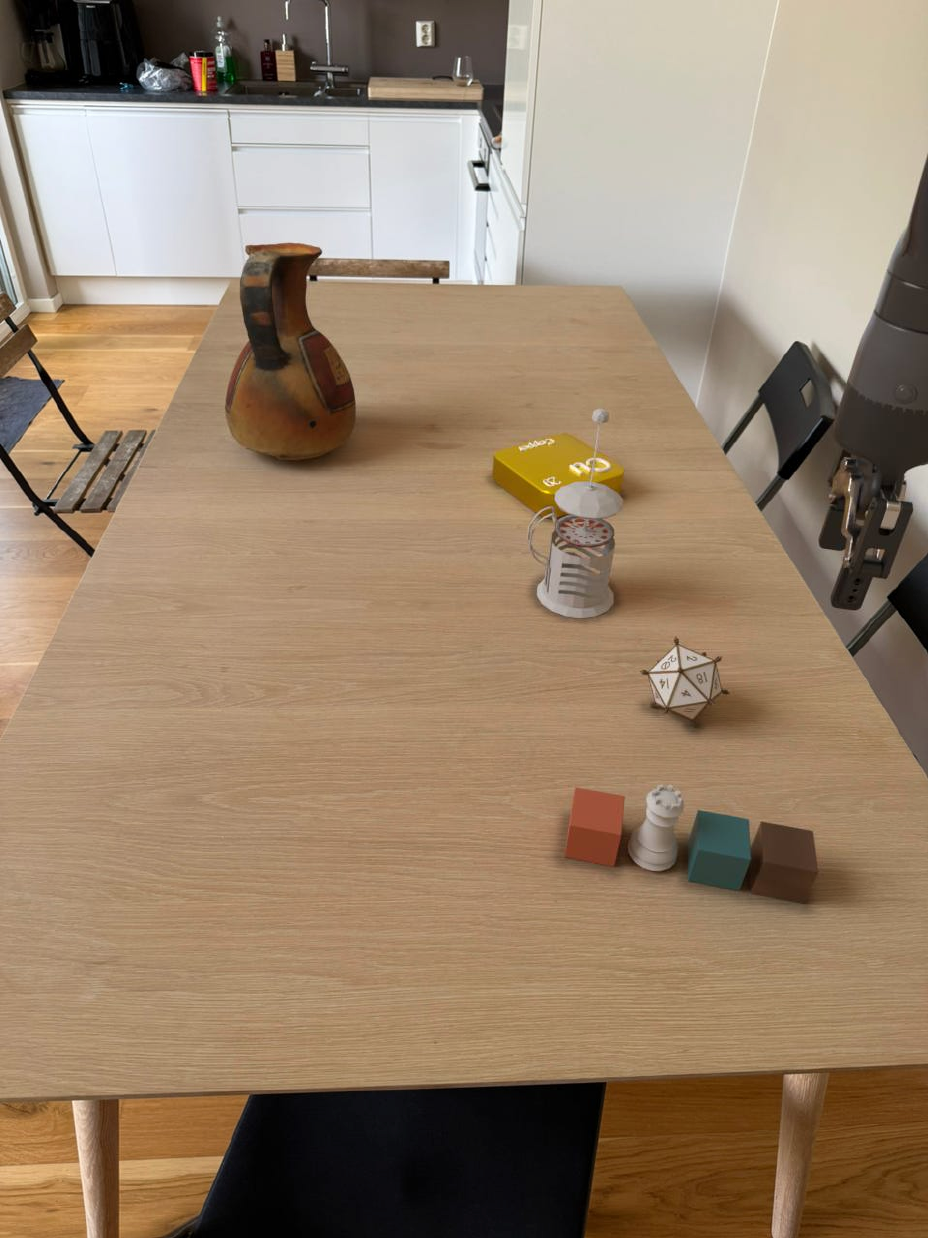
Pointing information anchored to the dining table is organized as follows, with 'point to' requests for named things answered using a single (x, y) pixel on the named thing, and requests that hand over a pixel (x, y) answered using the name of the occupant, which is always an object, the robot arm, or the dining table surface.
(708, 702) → the game die
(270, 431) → the ceramic pitcher
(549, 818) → the dining table surface
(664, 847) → the rook chess piece
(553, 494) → the element tile
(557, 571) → the french press
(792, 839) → the walnut block
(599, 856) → the terracotta block
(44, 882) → the dining table surface
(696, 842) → the teal block
